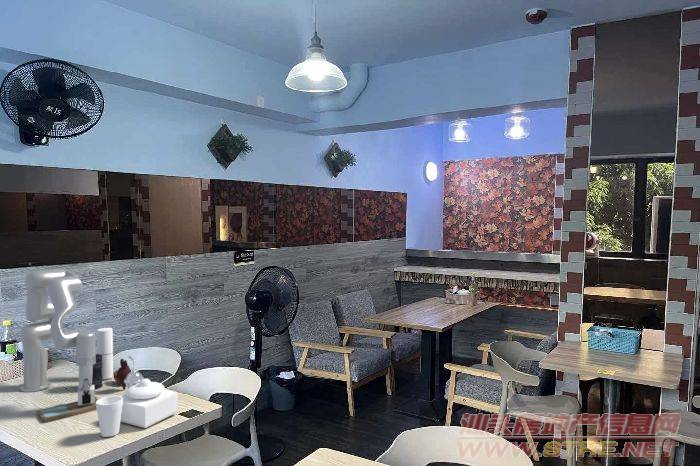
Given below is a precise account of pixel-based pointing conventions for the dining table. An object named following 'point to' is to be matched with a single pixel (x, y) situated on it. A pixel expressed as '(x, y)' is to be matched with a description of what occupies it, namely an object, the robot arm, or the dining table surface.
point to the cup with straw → (133, 377)
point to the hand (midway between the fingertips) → (86, 400)
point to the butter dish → (148, 404)
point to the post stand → (65, 411)
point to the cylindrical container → (106, 350)
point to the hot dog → (116, 378)
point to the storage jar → (97, 372)
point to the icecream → (123, 372)
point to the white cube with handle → (92, 392)
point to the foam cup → (109, 414)
